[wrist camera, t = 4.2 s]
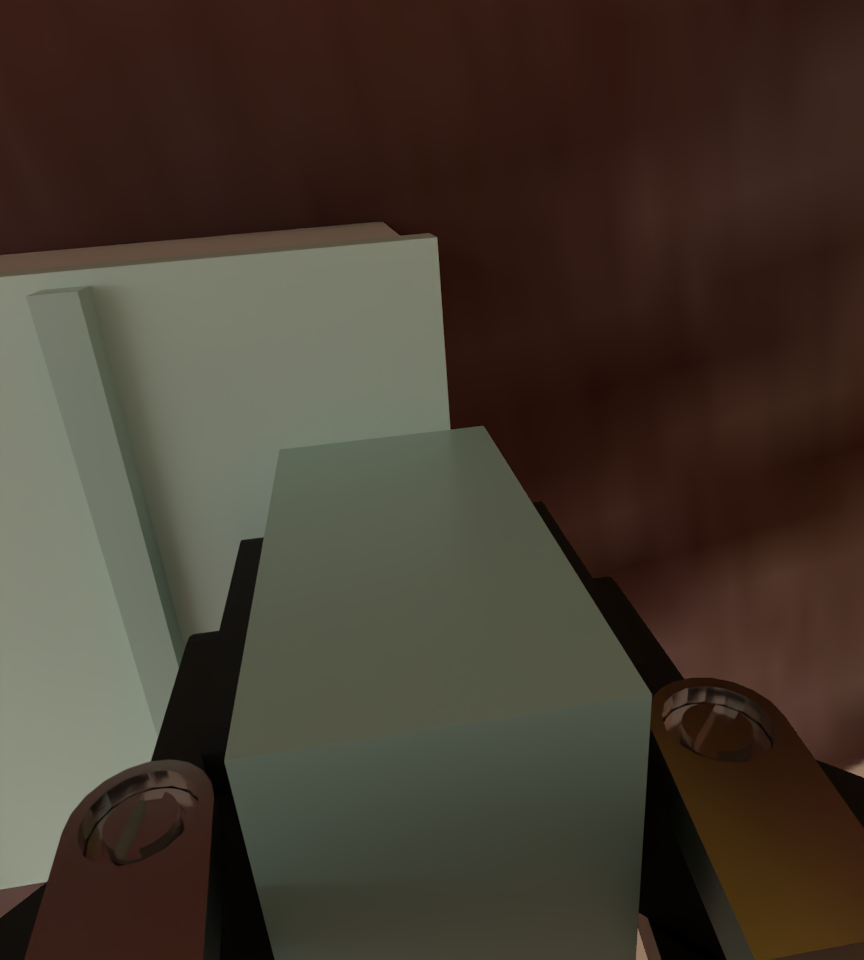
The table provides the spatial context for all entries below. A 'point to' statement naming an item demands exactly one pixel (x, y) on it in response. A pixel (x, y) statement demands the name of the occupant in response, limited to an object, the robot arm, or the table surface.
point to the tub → (194, 246)
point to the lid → (309, 604)
